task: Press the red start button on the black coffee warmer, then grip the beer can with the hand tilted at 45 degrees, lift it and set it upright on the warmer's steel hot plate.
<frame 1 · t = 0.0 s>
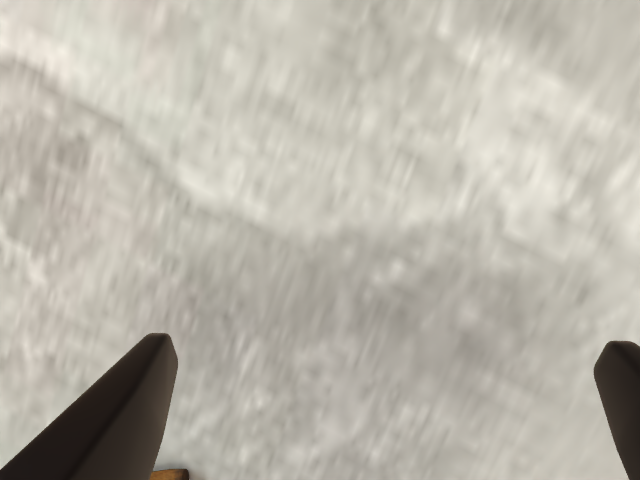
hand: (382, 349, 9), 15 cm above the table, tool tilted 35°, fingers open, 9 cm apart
can opener: (117, 476, 26), on the table
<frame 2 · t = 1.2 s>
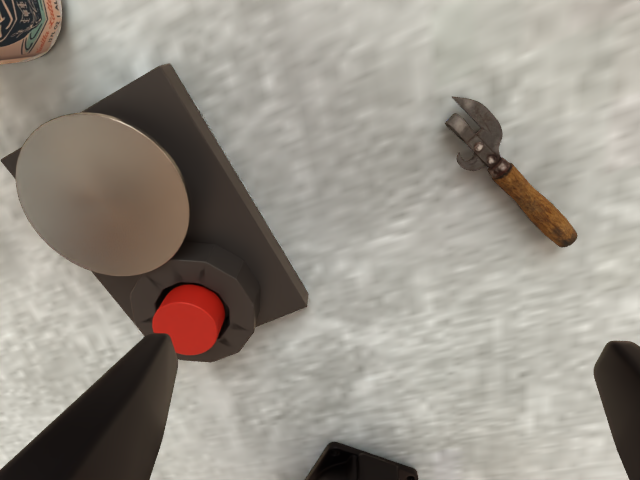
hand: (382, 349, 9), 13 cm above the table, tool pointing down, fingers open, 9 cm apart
can opener: (509, 171, 20), on the table
warmer: (171, 228, 23), on the table
start button: (189, 319, 21), point 3 cm above the table, slide at 0.1 cm
warming plate: (106, 199, 19), resting on warmer
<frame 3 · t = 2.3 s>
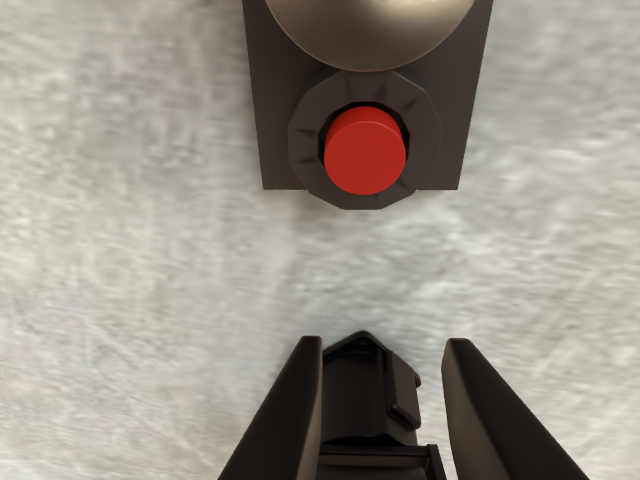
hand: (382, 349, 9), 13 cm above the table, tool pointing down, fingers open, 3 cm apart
warmer: (363, 32, 18), on the table
start button: (363, 151, 17), point 3 cm above the table, slide at 0.1 cm
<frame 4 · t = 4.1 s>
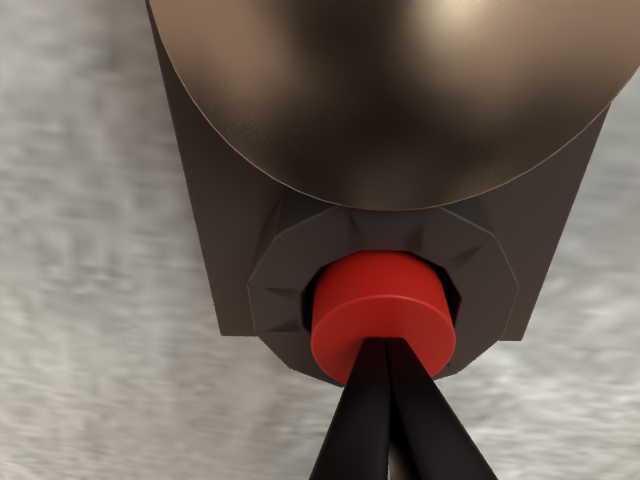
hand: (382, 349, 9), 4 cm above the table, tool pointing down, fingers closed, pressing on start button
warmer: (379, 113, 10), on the table
start button: (379, 321, 10), point 3 cm above the table, slide at 0.0 cm, touching gripper
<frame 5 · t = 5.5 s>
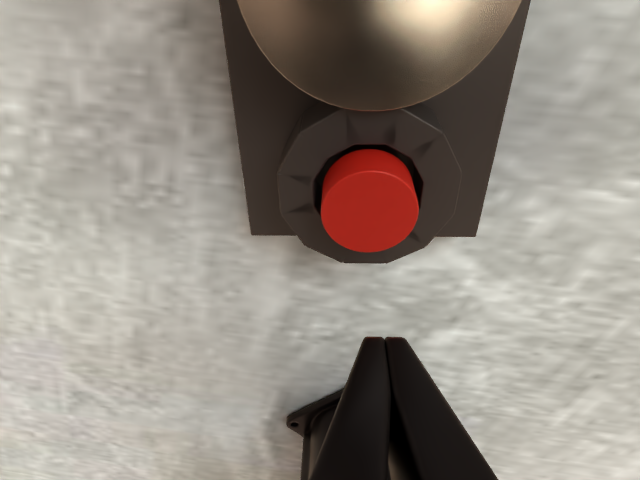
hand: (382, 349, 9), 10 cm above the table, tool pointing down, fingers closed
warmer: (368, 59, 15), on the table
start button: (368, 201, 14), point 3 cm above the table, slide at 0.1 cm
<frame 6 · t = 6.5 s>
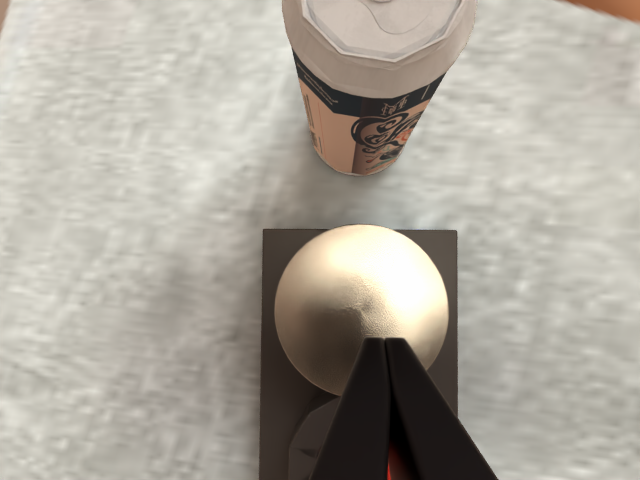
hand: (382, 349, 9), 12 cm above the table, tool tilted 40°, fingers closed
warmer: (357, 364, 21), on the table
beer can: (358, 131, 22), on the table
start button: (360, 472, 18), point 3 cm above the table, slide at 0.1 cm
warming plate: (360, 309, 19), resting on warmer
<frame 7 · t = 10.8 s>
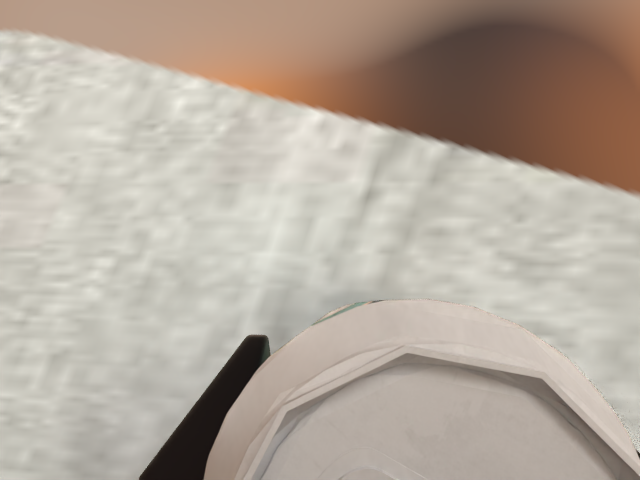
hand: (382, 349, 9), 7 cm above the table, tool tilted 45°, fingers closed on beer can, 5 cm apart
beer can: (363, 370, 16), on the table, touching gripper
when the fingers open (10 cm above the table, at t = 15.5 s): beer can stays where it is, resting on warming plate.
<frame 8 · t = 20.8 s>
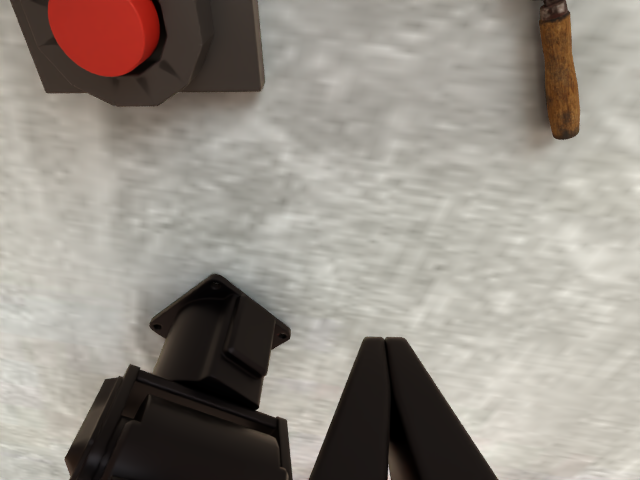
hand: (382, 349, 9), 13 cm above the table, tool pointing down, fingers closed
can opener: (554, 26, 17), on the table
start button: (106, 23, 15), point 3 cm above the table, slide at 0.1 cm
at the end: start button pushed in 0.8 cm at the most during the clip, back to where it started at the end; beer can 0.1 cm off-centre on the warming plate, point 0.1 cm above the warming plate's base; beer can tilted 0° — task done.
